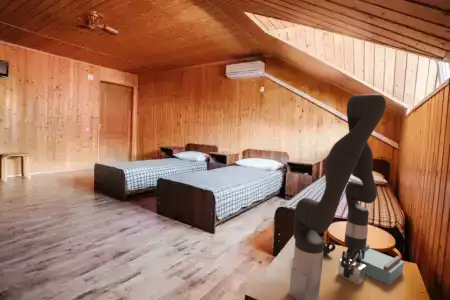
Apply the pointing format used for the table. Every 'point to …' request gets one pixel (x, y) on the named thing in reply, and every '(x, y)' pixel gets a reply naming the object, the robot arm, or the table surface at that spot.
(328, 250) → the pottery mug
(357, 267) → the block
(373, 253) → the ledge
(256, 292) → the table surface
